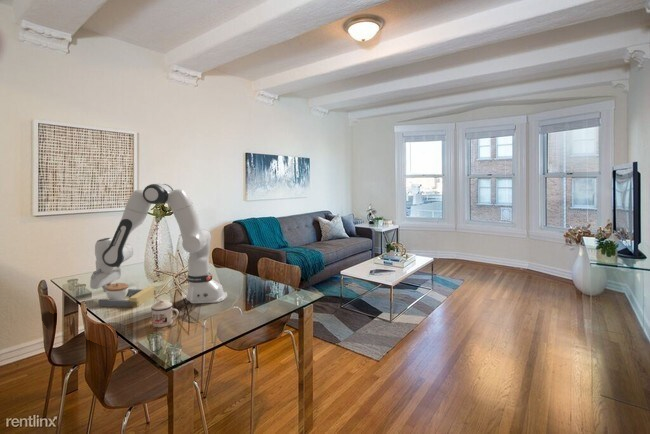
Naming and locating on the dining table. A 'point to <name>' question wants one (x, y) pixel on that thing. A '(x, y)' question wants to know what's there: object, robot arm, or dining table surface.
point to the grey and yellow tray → (131, 298)
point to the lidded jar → (117, 291)
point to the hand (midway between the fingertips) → (106, 291)
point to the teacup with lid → (163, 313)
